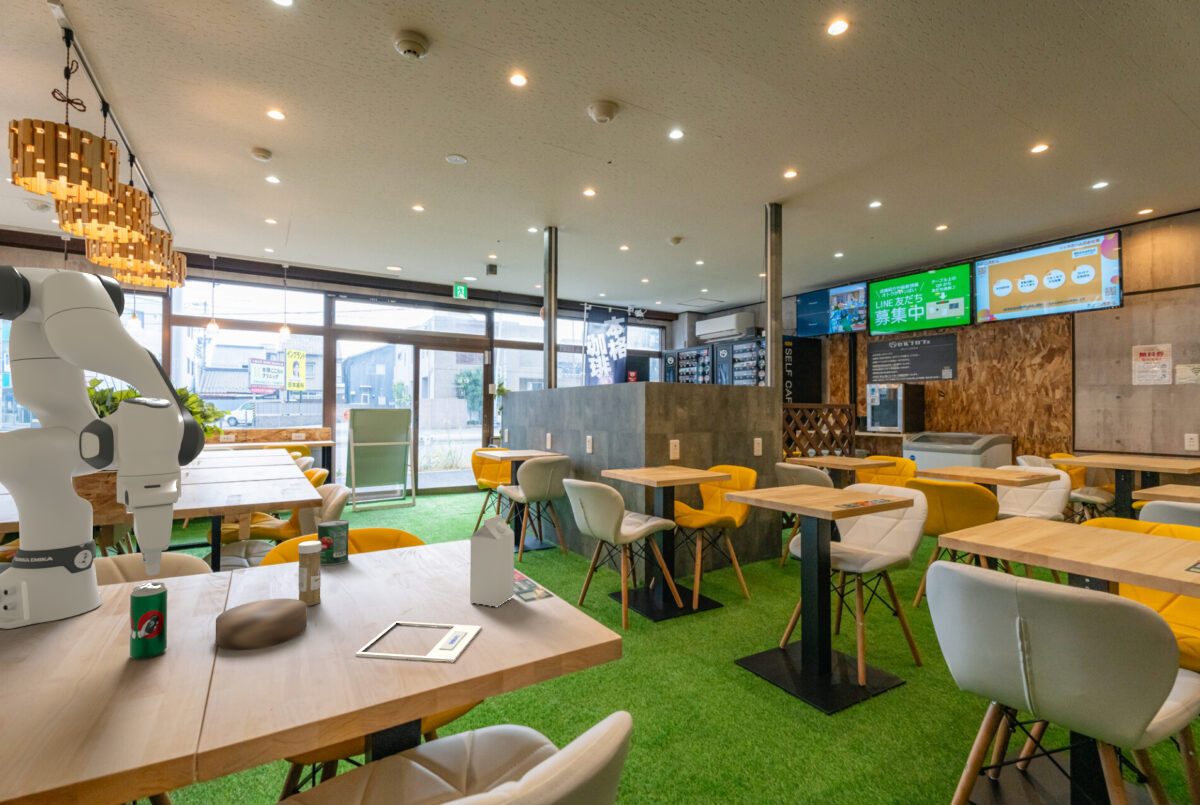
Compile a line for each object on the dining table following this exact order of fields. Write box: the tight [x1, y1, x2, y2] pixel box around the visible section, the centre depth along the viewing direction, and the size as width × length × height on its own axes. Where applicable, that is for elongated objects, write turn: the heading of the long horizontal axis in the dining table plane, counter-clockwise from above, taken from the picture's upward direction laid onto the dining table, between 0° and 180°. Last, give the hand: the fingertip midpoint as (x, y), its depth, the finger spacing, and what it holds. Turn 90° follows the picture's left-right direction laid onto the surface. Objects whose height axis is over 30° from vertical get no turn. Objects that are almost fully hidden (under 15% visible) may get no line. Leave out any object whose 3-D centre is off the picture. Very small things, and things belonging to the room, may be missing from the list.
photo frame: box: [354, 620, 483, 661], centre depth 104 cm, size 15×1×18 cm
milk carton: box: [469, 513, 515, 607], centre depth 126 cm, size 7×7×19 cm
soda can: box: [129, 582, 168, 661], centre depth 98 cm, size 5×5×12 cm
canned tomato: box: [317, 519, 350, 566], centre depth 156 cm, size 8×8×11 cm
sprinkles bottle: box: [297, 540, 322, 607], centre depth 123 cm, size 5×5×14 cm
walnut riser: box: [215, 598, 308, 651], centre depth 107 cm, size 15×15×4 cm
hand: (150, 568), depth 98 cm, fingers open, 8 cm apart
